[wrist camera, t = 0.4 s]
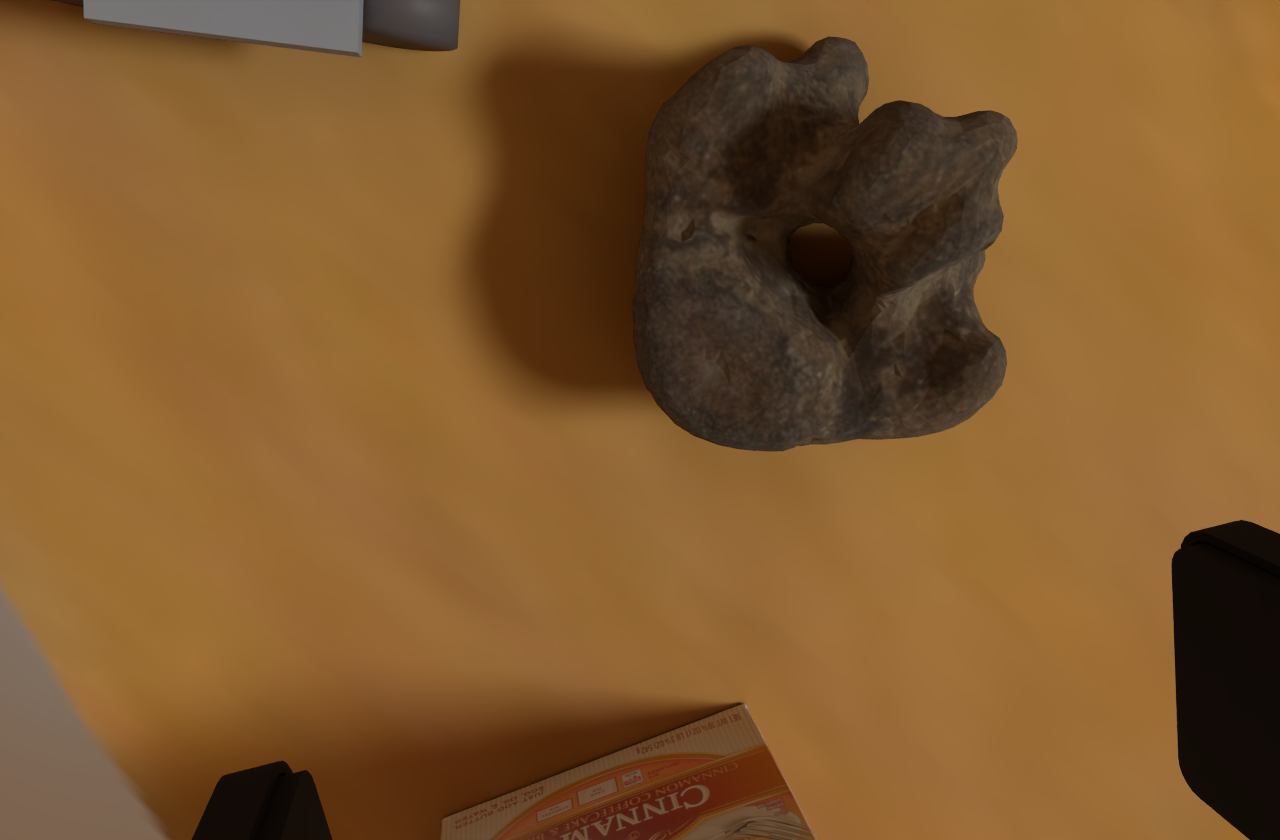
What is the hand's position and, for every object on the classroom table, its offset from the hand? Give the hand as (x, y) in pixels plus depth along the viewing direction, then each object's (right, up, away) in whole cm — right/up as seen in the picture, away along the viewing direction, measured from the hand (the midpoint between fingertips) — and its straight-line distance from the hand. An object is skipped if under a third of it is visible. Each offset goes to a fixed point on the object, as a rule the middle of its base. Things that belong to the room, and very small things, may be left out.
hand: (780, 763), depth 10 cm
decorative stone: (+4, +10, +29) cm, 31 cm away
